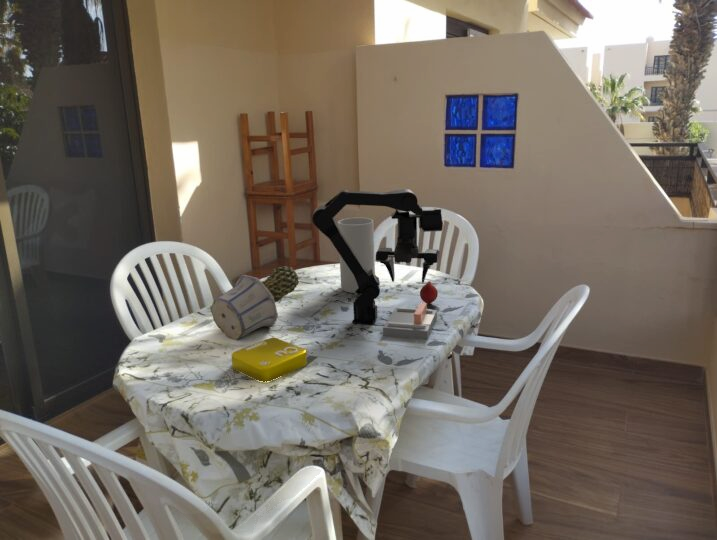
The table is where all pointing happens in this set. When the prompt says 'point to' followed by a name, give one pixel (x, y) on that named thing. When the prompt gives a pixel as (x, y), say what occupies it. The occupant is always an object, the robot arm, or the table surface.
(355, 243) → the cylinder vase
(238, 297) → the potted plant
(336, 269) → the table surface
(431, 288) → the pomegranate
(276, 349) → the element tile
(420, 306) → the lever
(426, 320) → the box
